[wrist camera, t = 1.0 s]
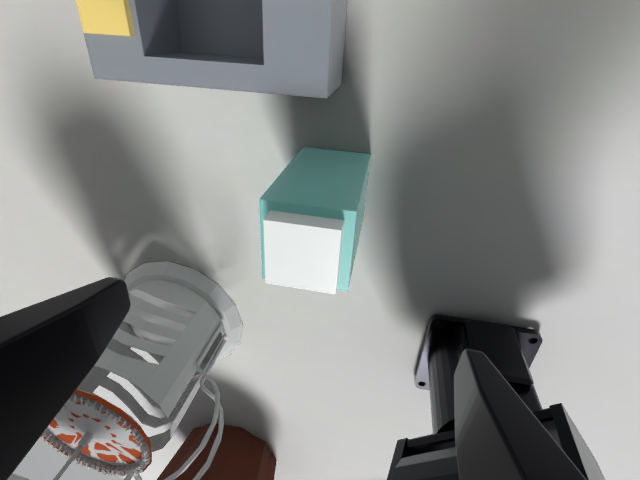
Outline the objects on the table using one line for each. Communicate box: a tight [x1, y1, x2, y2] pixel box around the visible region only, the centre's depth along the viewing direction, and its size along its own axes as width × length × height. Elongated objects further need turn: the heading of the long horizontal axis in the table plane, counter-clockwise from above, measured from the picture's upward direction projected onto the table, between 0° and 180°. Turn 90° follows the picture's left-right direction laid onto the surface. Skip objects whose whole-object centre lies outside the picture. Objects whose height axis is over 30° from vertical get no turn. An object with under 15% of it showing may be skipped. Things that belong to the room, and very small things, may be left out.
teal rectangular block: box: [260, 147, 371, 295], centre depth 17 cm, size 4×4×8 cm
